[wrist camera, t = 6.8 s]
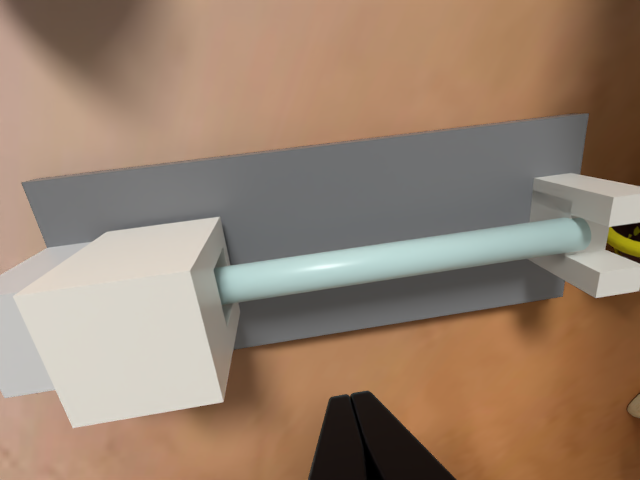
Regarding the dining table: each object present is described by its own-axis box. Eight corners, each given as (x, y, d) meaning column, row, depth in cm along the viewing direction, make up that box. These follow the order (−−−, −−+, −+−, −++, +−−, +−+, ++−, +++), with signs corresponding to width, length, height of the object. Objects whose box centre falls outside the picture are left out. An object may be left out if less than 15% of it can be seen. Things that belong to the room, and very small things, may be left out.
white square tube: (220, 216, 16) (189, 270, 11) (240, 311, 18) (223, 402, 12) (106, 231, 16) (13, 296, 10) (138, 327, 17) (72, 428, 12)
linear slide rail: (572, 113, 18) (707, 112, 12) (550, 288, 21) (647, 350, 16) (36, 178, 16) (-93, 212, 10) (105, 359, 20) (36, 458, 14)
